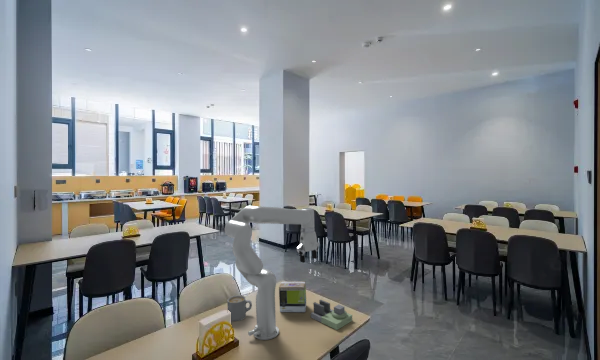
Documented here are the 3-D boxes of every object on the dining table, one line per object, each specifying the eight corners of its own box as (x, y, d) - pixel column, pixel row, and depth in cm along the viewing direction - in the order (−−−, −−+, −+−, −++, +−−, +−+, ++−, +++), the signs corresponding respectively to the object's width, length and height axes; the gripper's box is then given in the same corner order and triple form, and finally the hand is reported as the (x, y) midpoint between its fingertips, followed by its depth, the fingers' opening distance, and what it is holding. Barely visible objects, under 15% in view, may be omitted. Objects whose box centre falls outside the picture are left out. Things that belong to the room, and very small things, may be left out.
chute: (323, 319, 151) (322, 306, 151) (313, 315, 156) (313, 302, 156) (330, 315, 155) (330, 303, 155) (321, 311, 160) (320, 299, 160)
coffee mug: (226, 321, 152) (226, 303, 152) (229, 313, 162) (228, 296, 162) (251, 319, 154) (251, 301, 154) (252, 311, 164) (251, 294, 164)
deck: (336, 330, 141) (336, 315, 141) (310, 317, 155) (310, 304, 154) (352, 320, 150) (352, 306, 150) (326, 309, 163) (326, 296, 163)
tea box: (306, 305, 170) (305, 280, 170) (305, 313, 160) (304, 287, 160) (282, 304, 172) (281, 280, 171) (279, 312, 162) (278, 286, 161)
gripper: (301, 233, 151) (302, 265, 151) (323, 228, 163) (323, 258, 163) (292, 231, 156) (293, 262, 156) (313, 227, 168) (314, 255, 168)
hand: (308, 260), depth 160 cm, fingers open, 9 cm apart
